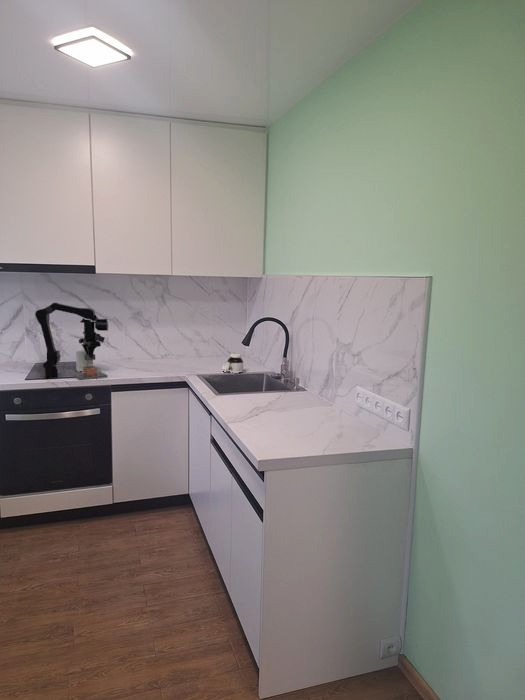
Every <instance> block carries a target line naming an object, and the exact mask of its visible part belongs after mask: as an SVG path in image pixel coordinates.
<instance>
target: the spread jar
mask: <svg viewBox="0 0 525 700" xmlns="http://www.w3.org/2000/svg"><path fill="white" fill-rule="evenodd" d="M229 356H230V357H229V358H228V359H227V362H224V363H223V364H222V367H221V370H222V369H225V371H227V372H229V371H228V370H231V371H241V370H243V371H244V360H243V358H242V355H241V354H240V353H231V354H229Z"/></svg>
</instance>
